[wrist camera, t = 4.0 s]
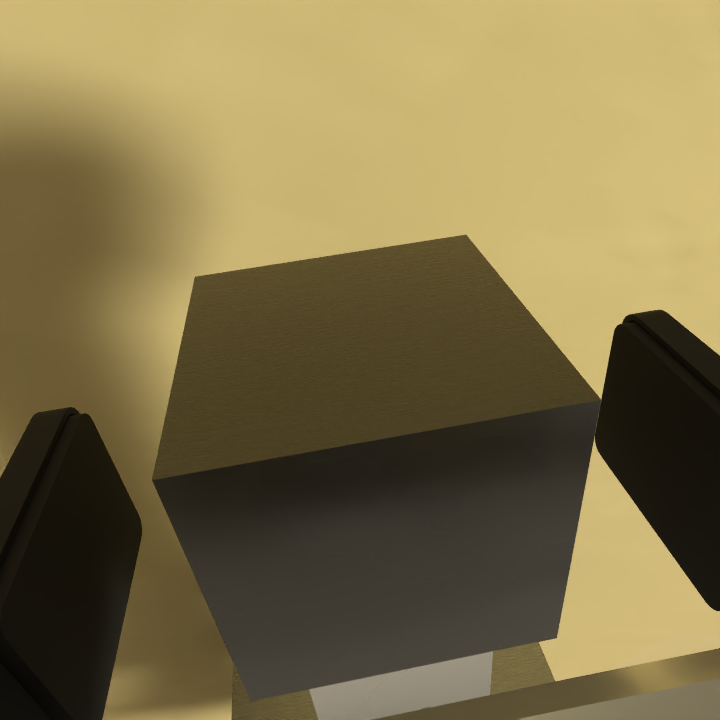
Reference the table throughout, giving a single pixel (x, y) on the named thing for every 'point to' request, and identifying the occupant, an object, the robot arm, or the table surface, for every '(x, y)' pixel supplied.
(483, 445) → the shaft
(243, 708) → the pair of grey plates
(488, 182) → the table surface
